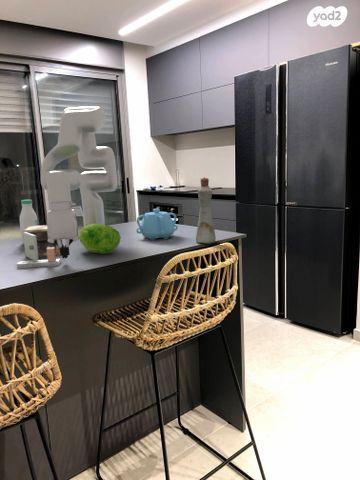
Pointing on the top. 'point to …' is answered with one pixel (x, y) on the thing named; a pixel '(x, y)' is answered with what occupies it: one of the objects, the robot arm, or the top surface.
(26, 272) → the top surface
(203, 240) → the bottle
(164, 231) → the decorative pot
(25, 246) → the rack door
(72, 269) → the top surface
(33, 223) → the milk bottle
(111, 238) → the lettuce
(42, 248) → the cabinet
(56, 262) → the fader strip
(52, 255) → the fader knob
